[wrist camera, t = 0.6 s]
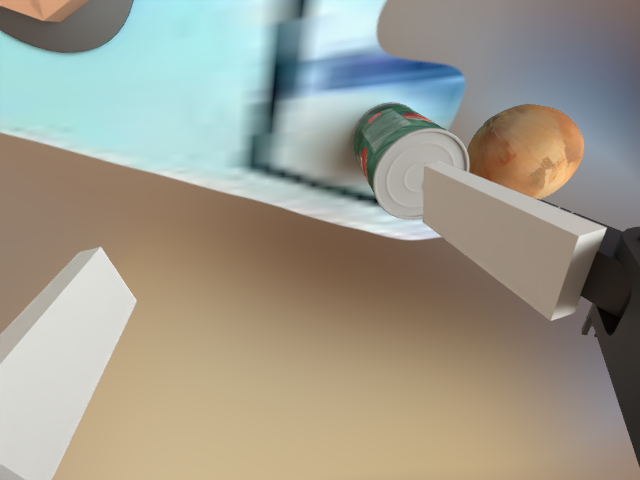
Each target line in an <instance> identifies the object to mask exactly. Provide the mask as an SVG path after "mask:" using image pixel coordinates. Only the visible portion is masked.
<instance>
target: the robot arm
mask: <svg viewBox="0 0 640 480" xmlns="http://www.w3.org/2000/svg"><path fill="white" fill-rule="evenodd" d="M423 222H424V223H425V224H426V225H427V226H429V227H430V228H431V229H433V230H434V231H435V232H437V233H438V234H439V235H440V236H442V237H443V238H444V239H446V240H447V241H448V242H450V243H451V244H452V245H453V246H455V247H456V248H457V249H458V250H460V251H461V252H463V253H464V254H465V255H466V256H468V257H469V258H470V259H471V260H473V261H474V262H475V263H477V264H478V265H479V266H481V267H482V268H483V269H484V270H486V271H487V272H488V273H490V274H491V275H492V276H493V277H495V278H496V279H497V280H499V281H500V282H501V283H503V284H504V285H505V286H506V287H508V288H509V289H510V290H511V291H513V292H514V293H516V294H517V295H518V296H519V297H521V298H522V299H523V300H524V301H526V302H527V303H528V304H530V305H531V306H532V307H534V308H535V309H536V310H538V311H539V312H540V313H541V314H543V315H544V316H545V317H546V318H548V319H549V320H550V321H552V320H555V319H558V318H561V317H564V316H566V315H569V314H572V313H574V312H575V310H576V307H577V305H578V301H579V299H580V296H583V297H584V298H586V299H587V300H589V301H590V302H592V306H591V308H590V311H589V313H588V315H587V318H586V320H585V322H584V325H583V327H582V334H583V335H587V334H588V331H589V329H590V328H591V327H593V326H594V329H595V332H596V333H595V335H594V336H595V337H597V338H598V341H599V344H600V347H601V351H602V354H603V357H604V360H605V363H606V366H607V369H608V372H609V375H610V378H611V381H612V384H613V387H614V390H615V393H616V396H617V399H618V403H619V406H620V409H621V412H622V415H623V418H624V421H625V424H626V427H627V430H628V433H629V436H630V439H631V442H632V445H633V448H634V451H635V454H636V458H637V461H638V464H639V467H640V227H634V228H629V229H626V230H625V231H624V232H622V231H620V230H617V229H615V228H612V227H609V226H607V225H604V224H602V223H599V222H597V221H594V220H591V219H589V218H586V217H584V216H581V215H579V214H576V213H571V211H569V210H566V209H564V208H558V206H556V205H554V204H551V203H548V202H546V201H543V200H539V199H534V198H531V197H529V196H526V195H524V194H521V193H519V192H516V191H514V190H511V189H509V188H506V187H504V186H501V185H499V184H496V183H494V182H491V181H489V180H486V179H484V178H481V177H479V176H476V175H474V174H471V173H469V172H466V171H464V170H461V169H459V168H456V167H454V166H451V165H449V164H446V163H444V162H441V161H438V162H434V163H430V164H426V165H424V181H423ZM136 302H137V301H136V299H135V298H134V296H133V295H132V293H131V292H130V290H129V289H128V287H127V286H126V284H125V283H124V281H123V280H122V278H121V277H120V275H119V274H118V272H117V270H116V269H115V267H114V266H113V264H112V263H111V261H110V260H109V258H108V257H107V256H106V254H105V252H104V251H103V249H102V248H101V247H98V248H94V249H90V250H86V251H82V252H79V253H78V254H77V255H76V256H75V257H74V258H73V259H72V260H71V261H70V262H69V263H68V264H67V265H66V266H65V267H64V269H63V270H62V271H61V272H60V273H59V274H58V275H57V276H56V277H55V278H54V279H53V280H52V281H51V282H50V283H49V284H48V285H47V286H46V287H45V288H44V290H43V291H42V292H41V293H40V294H39V295H38V296H37V297H36V298H35V299H34V300H33V301H32V302H31V303H30V304H29V305H28V306H27V307H26V308H25V309H24V310H23V312H21V314H20V315H19V316H18V317H17V318H16V319H15V320H14V321H13V322H12V323H11V324H10V325H9V326H8V327H7V328H6V329H5V330H4V331H3V332H2V333H1V334H0V480H52V478H53V476H54V474H55V472H56V469H57V467H58V465H59V463H60V461H61V459H62V457H63V455H64V453H65V451H66V449H67V447H68V444H69V442H70V440H71V438H72V436H73V434H74V432H75V430H76V428H77V426H78V424H79V422H80V419H81V417H82V415H83V413H84V411H85V409H86V407H87V405H88V403H89V401H90V398H91V396H92V394H93V392H94V390H95V388H96V386H97V384H98V382H99V380H100V378H101V376H102V373H103V371H104V369H105V367H106V365H107V363H108V361H109V359H110V356H111V355H112V353H113V350H114V348H115V346H116V344H117V342H118V340H119V338H120V336H121V334H122V332H123V330H124V327H125V325H126V323H127V321H128V319H129V317H130V315H131V313H132V311H133V308H134V306H135V304H136Z"/></svg>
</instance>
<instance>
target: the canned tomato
mask: <svg viewBox="0 0 640 480" xmlns="http://www.w3.org/2000/svg"><path fill="white" fill-rule="evenodd" d="M352 143H353V151H354V155H355V157H356V159H357V161H358V163H359V165H360V167H361V169H362V171H363V173H364V175H365V177H366V179H367V180H368V182H369V185H370V186H371V188H372V190H373V192H374V194H375V197H376V199H377V201H378V203H379V204H380V206H381V207H382V208H383V209H384V210H385V211H386V212H388V213H389V214H391V215H393V216H395V217H397V218H402V219H421V218H423V181H424V165H426V164H430V163H434V162H438V161H441V162H444V163H446V164H449V165H451V166H454V167H456V168H459V169H461V170H464V171H466V172H469V167H470V166H469V156H468V152H467V149H466V147H465V146H464V144H463V142H462V141H461V140H460V139H459V138H458V137H457V136H456V135H454V134H452V133H451V132H449V131H447V130H445V129H443V128H442V127H440V126H438V125H437V124H435V123H434V122H432V121H430V120H428V119H427V118H425V117H424V116H422V115H420V114H419V113H417V112H415V111H414V110H412V109H411V108H409V107H408V106H406V105H403V104H400V103H392V102H390V103H384V104H381V105H378V106H376V107H374V108H373V109H371V110H369V111H368V112H367V113H366V114H365V115H364V116H363V117H362V118H361V120H360V121H359V123H358V125H357V126H356V128H355V132H354V135H353V142H352Z"/></svg>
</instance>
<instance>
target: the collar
mask: <svg viewBox="0 0 640 480" xmlns="http://www.w3.org/2000/svg"><path fill="white" fill-rule="evenodd" d="M88 1H89V0H0V6H3V7H5V8H8V9H11V10H14V11H17V12H20V13H22V14H25V15H28V16H31V17H34V18H37V19H39V20H42V21H52V22H61V21H63V20H64V19H65V18H67V17H68V16H69V15H71V14H72V13H73V12H75V11H76V10H77V9H78V8H80V7H81V6H82V5H84V4H85V3H86V2H88Z"/></svg>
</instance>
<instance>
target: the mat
mask: <svg viewBox="0 0 640 480" xmlns="http://www.w3.org/2000/svg"><path fill="white" fill-rule="evenodd" d="M132 4H133V0H89V1H88V2H86V3H85V4H84V5H82V6H81V7H80V8H78V9H77V10H76V11H75V12H73V13H72V14H71V15H69V16H68V17H67V18H65V19H64V20H63V21H61V22H52V21H42V20H39V19H37V18H34V17H31V16H28V15H25V14H22V13H20V12H17V11H14V10H11V9H8V8H5V7H3V6H0V30H2V31H3V32H5V33H6V34H8V35H10V36H12V37H14V38H16V39H18V40H20V41H22V42H25V43H27V44H30V45H33V46H35V47H39V48H42V49H46V50H50V51H57V52H81V51H87V50H91V49H94V48H97V47H99V46H101V45H103V44H105V43H106V42H108V41H109V40H111V39H112V38H113V37H114V36H115V35H116V34H117V33H118V32H119V30H120V29H121V28H122V27H123V25H124V23H125V22H126V20H127V18H128V16H129V13H130V10H131V7H132Z"/></svg>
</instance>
